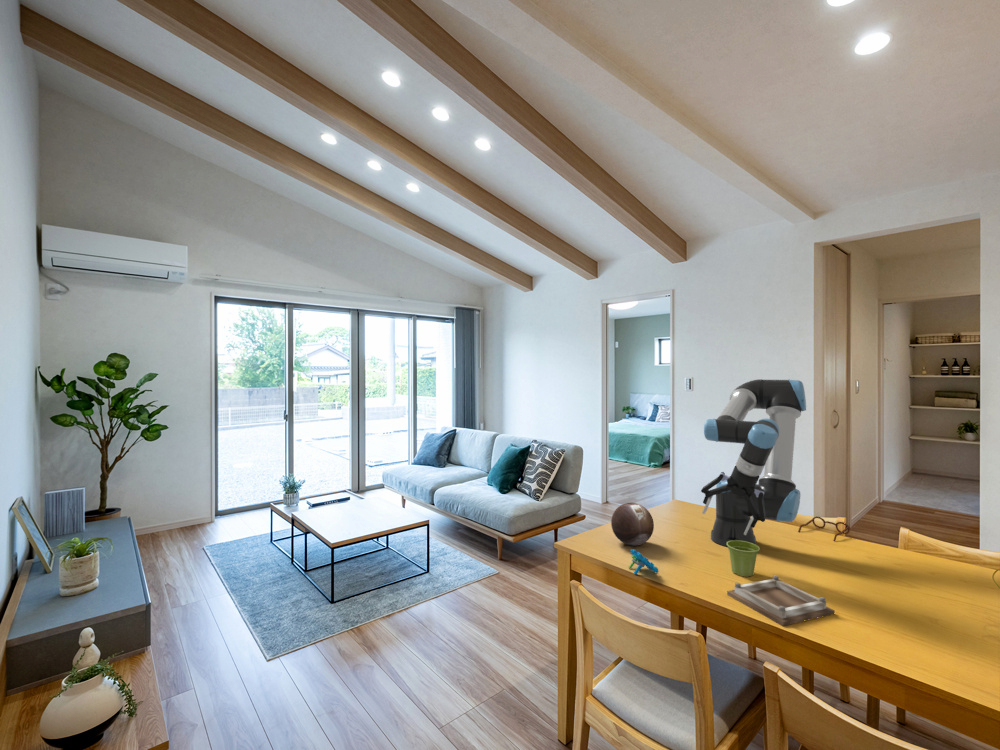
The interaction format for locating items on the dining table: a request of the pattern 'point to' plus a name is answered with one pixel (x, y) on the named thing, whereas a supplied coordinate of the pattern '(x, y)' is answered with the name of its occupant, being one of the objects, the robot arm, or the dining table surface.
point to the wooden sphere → (632, 524)
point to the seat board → (780, 601)
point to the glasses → (829, 523)
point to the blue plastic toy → (641, 562)
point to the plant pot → (742, 557)
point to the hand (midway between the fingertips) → (724, 522)
